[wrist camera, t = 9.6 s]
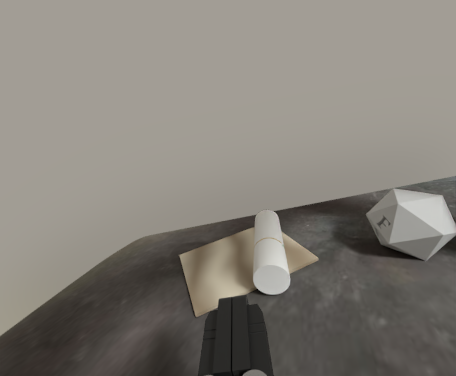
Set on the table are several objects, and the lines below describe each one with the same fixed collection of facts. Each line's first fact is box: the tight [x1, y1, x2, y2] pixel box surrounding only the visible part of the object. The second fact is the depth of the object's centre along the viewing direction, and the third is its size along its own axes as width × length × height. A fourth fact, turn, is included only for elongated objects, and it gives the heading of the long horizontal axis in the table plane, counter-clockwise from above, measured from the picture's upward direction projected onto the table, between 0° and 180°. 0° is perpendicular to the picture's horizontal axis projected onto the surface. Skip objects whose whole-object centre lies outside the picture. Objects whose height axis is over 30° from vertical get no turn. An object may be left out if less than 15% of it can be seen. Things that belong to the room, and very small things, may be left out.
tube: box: [253, 210, 290, 295], centre depth 32 cm, size 4×4×15 cm
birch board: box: [179, 227, 318, 317], centre depth 34 cm, size 18×14×1 cm
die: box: [366, 188, 456, 261], centre depth 28 cm, size 8×9×10 cm
